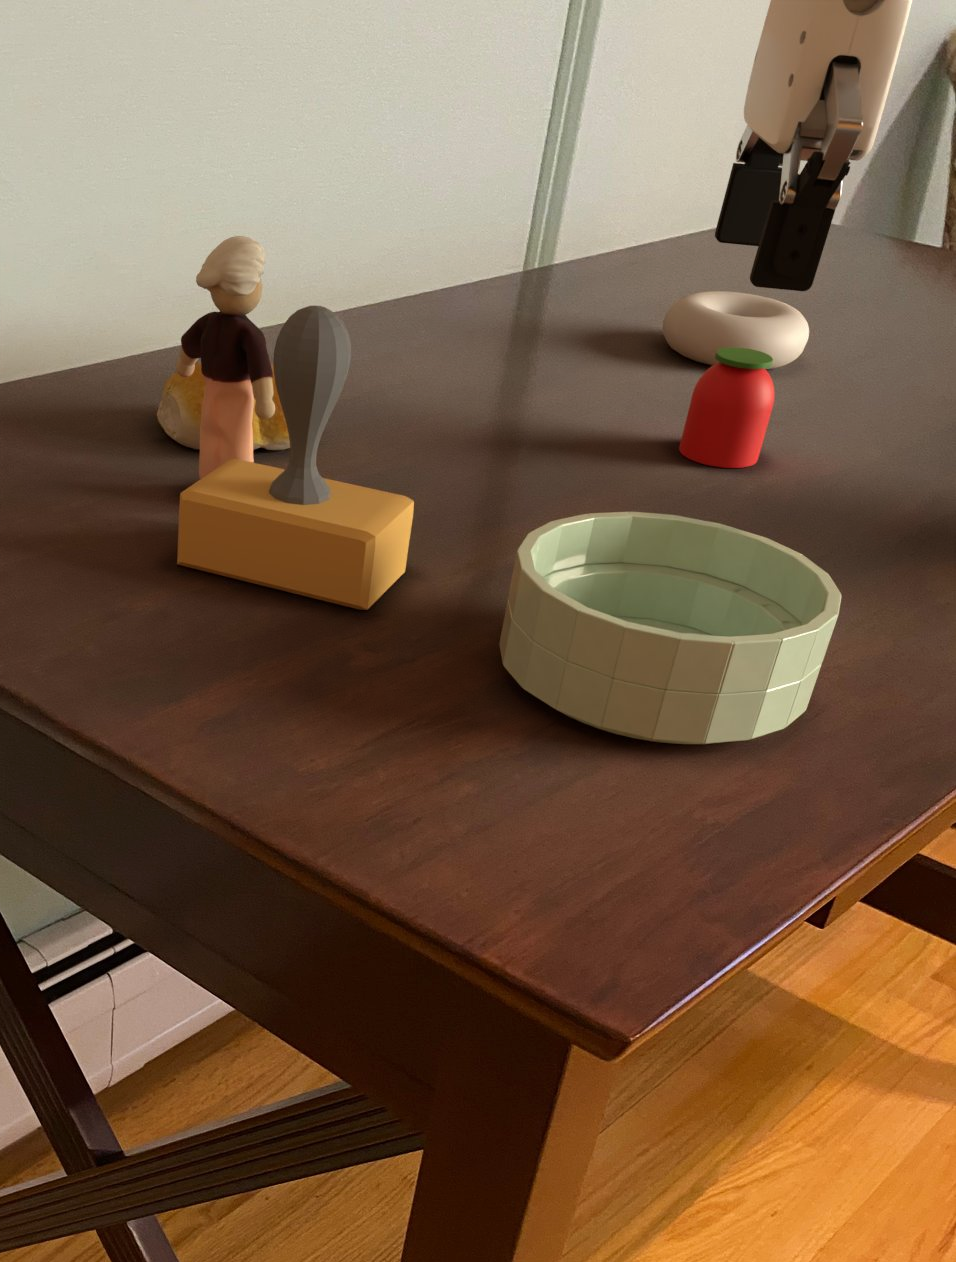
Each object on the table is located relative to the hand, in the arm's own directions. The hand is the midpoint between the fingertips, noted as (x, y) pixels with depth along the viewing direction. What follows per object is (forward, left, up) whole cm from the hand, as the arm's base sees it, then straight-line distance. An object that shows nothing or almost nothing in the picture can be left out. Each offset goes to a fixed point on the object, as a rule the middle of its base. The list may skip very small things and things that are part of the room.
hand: (759, 264), depth 83 cm
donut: (-5, -22, -11) cm, 25 cm away
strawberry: (0, 0, -10) cm, 10 cm away
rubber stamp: (+25, +22, -11) cm, 35 cm away
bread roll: (+29, +3, -11) cm, 31 cm away
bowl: (+9, +31, -10) cm, 34 cm away
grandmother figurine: (+29, +13, -11) cm, 33 cm away
